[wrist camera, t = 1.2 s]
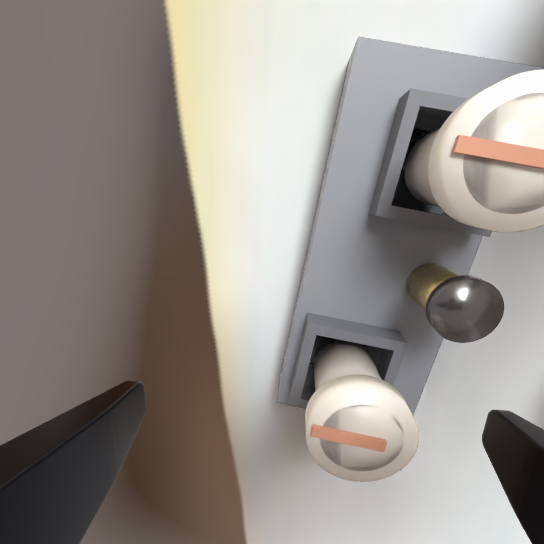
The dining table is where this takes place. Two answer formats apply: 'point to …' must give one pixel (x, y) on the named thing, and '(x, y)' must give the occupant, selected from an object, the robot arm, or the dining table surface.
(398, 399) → the knob
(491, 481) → the dining table surface
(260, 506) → the dining table surface
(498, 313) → the metal knob
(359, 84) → the mount
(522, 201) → the white round cap
